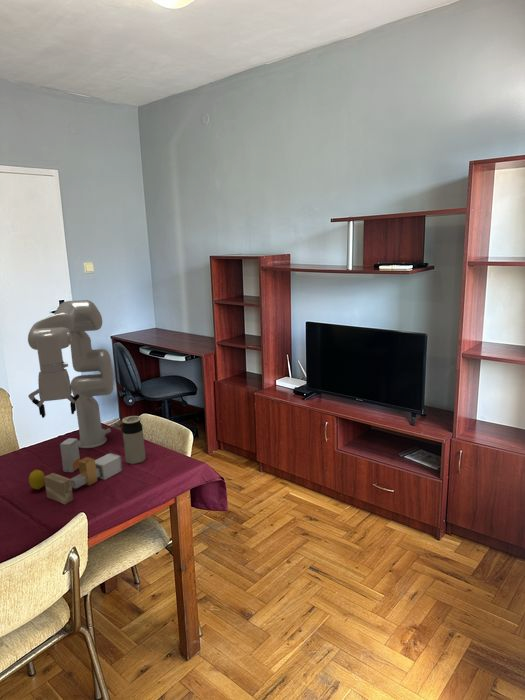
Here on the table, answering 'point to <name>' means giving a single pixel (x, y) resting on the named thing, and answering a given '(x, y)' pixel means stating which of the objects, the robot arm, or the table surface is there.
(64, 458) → the skincare box
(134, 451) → the travel mug
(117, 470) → the sleeve
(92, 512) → the table surface
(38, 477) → the lemon
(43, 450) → the table surface
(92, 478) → the multicoloured angled piece
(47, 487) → the socket block
